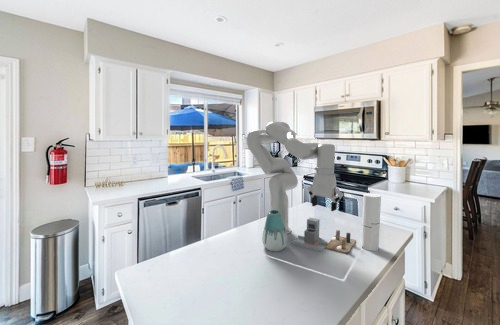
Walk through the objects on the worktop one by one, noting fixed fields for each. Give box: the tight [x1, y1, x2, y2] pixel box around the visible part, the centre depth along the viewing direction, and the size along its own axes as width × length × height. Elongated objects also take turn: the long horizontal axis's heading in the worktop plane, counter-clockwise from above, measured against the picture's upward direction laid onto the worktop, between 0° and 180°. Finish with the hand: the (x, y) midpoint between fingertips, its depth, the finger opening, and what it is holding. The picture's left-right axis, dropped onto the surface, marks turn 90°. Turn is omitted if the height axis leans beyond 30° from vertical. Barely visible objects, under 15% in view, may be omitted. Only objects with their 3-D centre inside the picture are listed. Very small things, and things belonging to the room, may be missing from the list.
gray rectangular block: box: [306, 217, 320, 239], centre depth 124 cm, size 5×4×10 cm
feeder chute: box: [291, 234, 328, 252], centre depth 117 cm, size 14×8×2 cm, turn 54°
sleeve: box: [303, 228, 320, 246], centre depth 116 cm, size 5×5×7 cm
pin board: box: [324, 229, 357, 255], centre depth 116 cm, size 11×16×6 cm
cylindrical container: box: [360, 192, 382, 252], centre depth 113 cm, size 7×7×25 cm
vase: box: [261, 209, 288, 252], centre depth 113 cm, size 12×12×18 cm
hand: (323, 208), depth 113 cm, fingers open, 9 cm apart
